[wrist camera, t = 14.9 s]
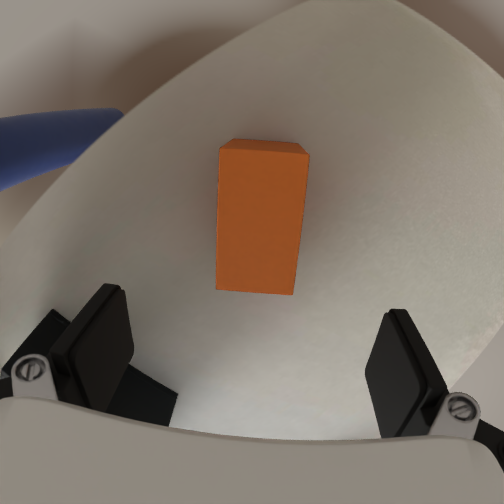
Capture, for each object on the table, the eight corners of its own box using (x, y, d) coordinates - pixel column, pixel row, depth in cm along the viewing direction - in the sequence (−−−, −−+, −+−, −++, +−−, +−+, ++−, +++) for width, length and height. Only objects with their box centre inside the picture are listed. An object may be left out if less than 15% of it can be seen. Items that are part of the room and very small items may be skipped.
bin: (33, 361, 36) (-4, 414, 26) (52, 308, 32) (1, 369, 22) (136, 430, 40) (116, 490, 30) (178, 393, 35) (157, 469, 26)
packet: (227, 247, 27) (215, 289, 21) (232, 138, 24) (219, 147, 17) (287, 251, 27) (292, 295, 21) (298, 143, 24) (309, 154, 17)
